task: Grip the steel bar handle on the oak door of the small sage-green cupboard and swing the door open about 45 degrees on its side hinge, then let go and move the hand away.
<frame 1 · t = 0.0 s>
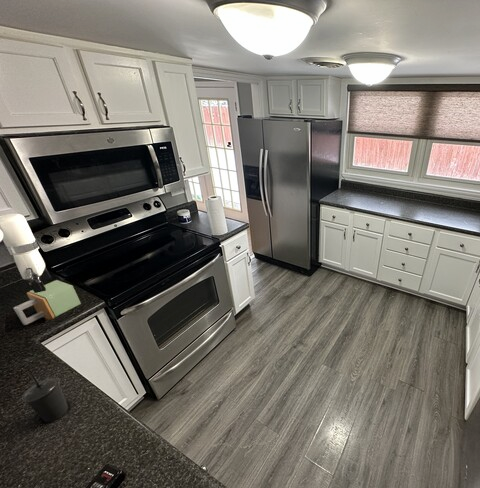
hand: (43, 285, 105), 23 cm above the worktop, tool pointing down, fingers open, 9 cm apart
drinking cup: (61, 420, 81), on the worktop
door: (31, 311, 114), point 6 cm above the worktop, hinge at 0.0°
cupboard: (62, 311, 125), on the worktop
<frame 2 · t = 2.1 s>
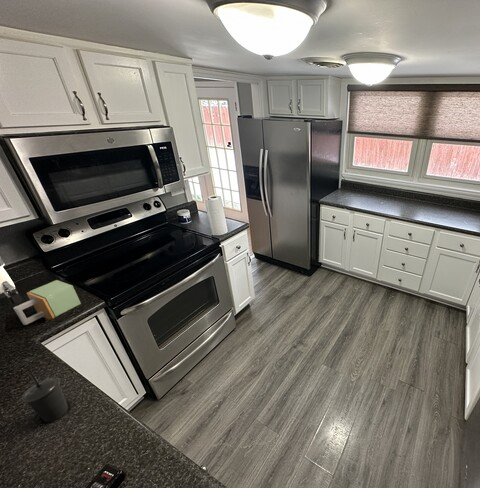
hand: (10, 300, 108), 15 cm above the worktop, tool pointing down, fingers open, 9 cm apart
nothing on the worktop moved.
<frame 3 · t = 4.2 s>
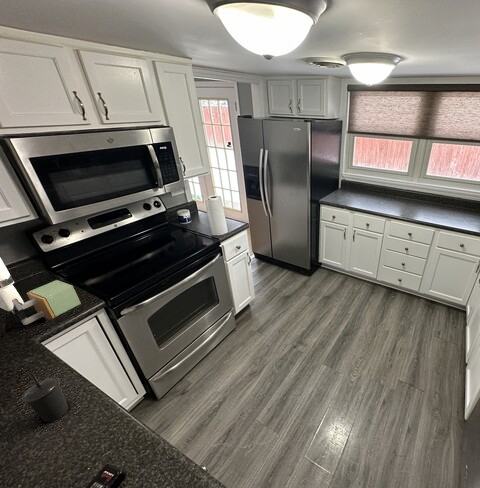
hand: (20, 318, 112), 6 cm above the worktop, tool pointing down, fingers closed on door, 2 cm apart
door: (31, 311, 114), point 7 cm above the worktop, hinge at 0.0°, touching gripper
everything else where it was.
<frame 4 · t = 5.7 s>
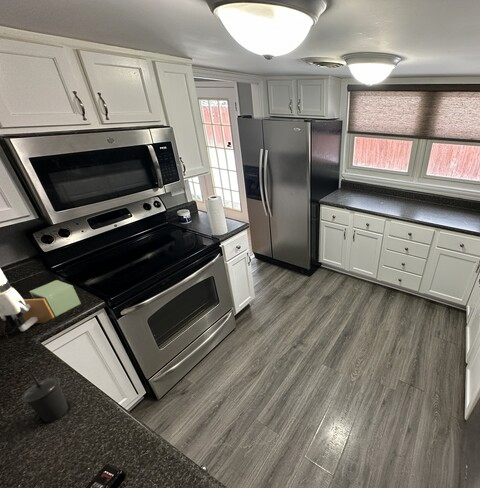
hand: (18, 324, 109), 6 cm above the worktop, tool pointing down, fingers closed on door, 2 cm apart
door: (27, 316, 112), point 6 cm above the worktop, hinge at 27.6°, touching gripper
everything else where it was.
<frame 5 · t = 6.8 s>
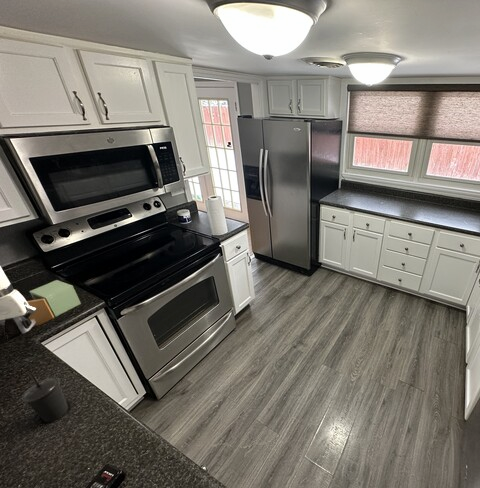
hand: (20, 327, 107), 5 cm above the worktop, tool pointing down, fingers open, 4 cm apart
door: (27, 318, 111), point 6 cm above the worktop, hinge at 42.0°
everything else where it was.
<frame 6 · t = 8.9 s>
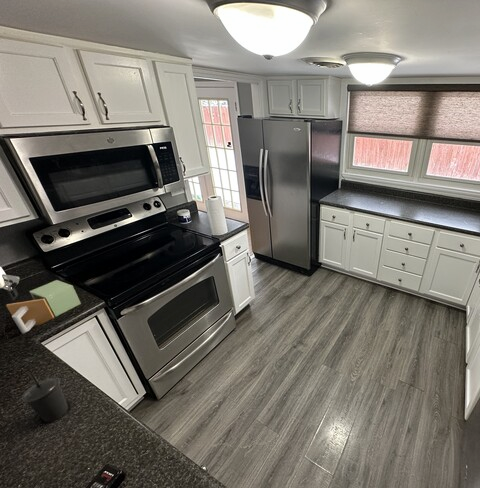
nothing on the worktop moved.
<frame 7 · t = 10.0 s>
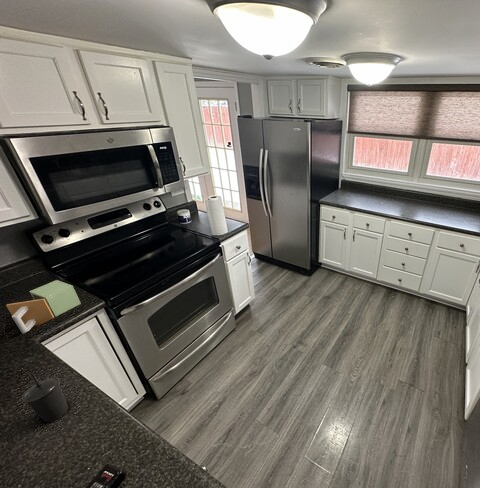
nothing on the worktop moved.
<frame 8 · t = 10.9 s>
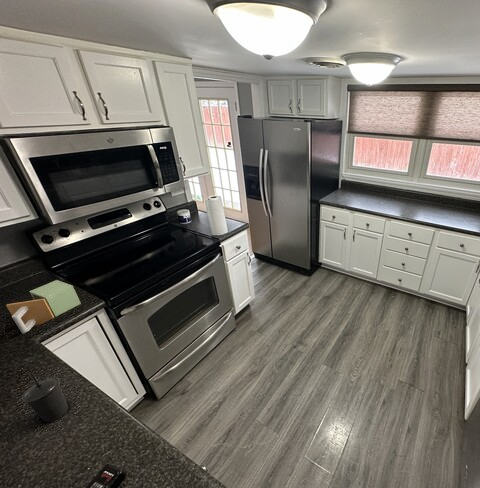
nothing on the worktop moved.
at the end: door at +42° (first picture: +0°); the gripper is holding nothing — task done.
